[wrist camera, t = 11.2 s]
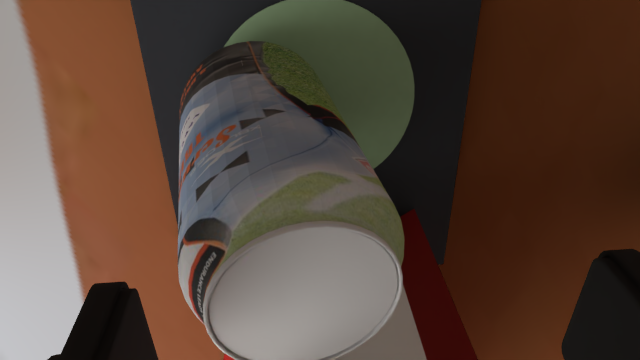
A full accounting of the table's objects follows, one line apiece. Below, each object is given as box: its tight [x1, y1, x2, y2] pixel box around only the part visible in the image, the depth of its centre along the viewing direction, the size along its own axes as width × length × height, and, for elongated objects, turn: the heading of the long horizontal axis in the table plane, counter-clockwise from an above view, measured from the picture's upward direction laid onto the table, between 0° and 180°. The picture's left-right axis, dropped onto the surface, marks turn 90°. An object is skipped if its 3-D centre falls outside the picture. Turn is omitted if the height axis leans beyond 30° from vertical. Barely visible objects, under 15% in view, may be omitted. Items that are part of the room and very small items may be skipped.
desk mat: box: [131, 0, 481, 265], centre depth 22 cm, size 20×14×1 cm
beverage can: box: [178, 41, 404, 360], centre depth 16 cm, size 6×7×12 cm
